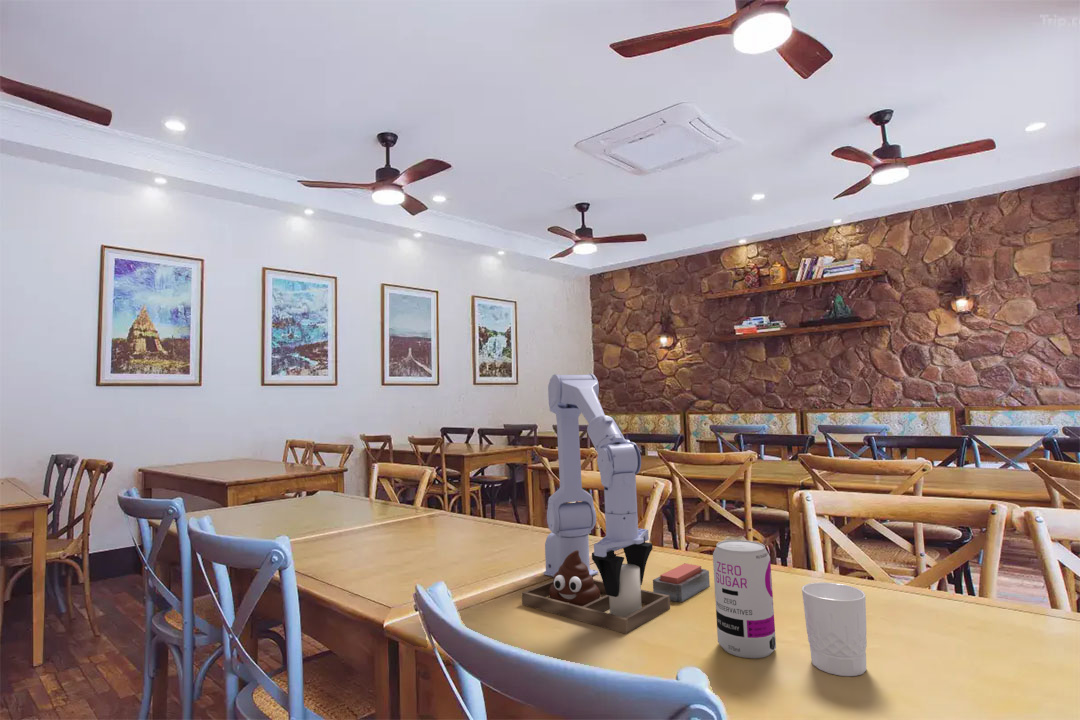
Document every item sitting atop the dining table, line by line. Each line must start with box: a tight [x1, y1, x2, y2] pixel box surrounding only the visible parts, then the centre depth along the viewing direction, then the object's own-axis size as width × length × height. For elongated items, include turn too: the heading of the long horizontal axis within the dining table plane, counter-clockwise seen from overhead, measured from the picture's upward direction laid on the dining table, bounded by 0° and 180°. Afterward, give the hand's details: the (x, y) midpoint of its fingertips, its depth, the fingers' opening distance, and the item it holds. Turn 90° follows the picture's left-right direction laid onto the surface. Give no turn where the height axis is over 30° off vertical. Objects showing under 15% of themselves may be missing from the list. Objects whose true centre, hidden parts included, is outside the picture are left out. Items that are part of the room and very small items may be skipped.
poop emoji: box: [548, 550, 601, 606], centre depth 109 cm, size 10×8×9 cm
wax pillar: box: [609, 563, 643, 617], centre depth 100 cm, size 6×6×8 cm
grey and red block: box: [652, 568, 711, 603], centre depth 112 cm, size 6×12×3 cm, turn 138°
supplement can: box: [712, 540, 777, 659], centre depth 85 cm, size 8×8×15 cm
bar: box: [659, 563, 702, 584], centre depth 112 cm, size 4×10×3 cm, turn 138°
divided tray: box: [521, 578, 671, 635], centre depth 105 cm, size 23×14×2 cm, turn 48°
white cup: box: [801, 581, 867, 677], centre depth 79 cm, size 8×8×10 cm
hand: (624, 589), depth 100 cm, fingers open, 7 cm apart
